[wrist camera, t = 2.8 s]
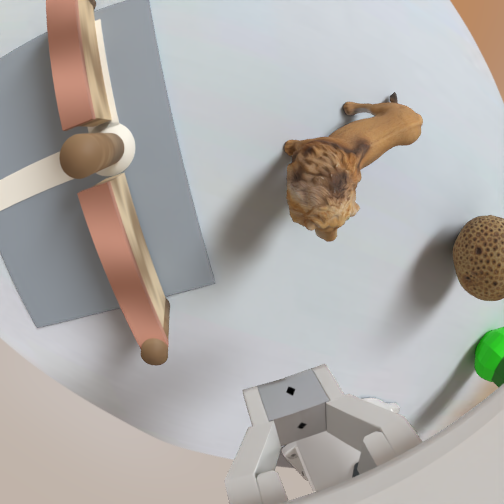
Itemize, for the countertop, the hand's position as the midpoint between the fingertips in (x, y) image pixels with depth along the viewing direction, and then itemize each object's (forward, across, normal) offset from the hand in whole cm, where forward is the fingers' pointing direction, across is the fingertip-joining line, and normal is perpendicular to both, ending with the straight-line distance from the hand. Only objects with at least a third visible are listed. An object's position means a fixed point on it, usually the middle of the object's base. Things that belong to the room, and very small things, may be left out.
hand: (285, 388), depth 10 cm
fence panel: (+15, +7, -1) cm, 17 cm away
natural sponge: (+15, -25, +7) cm, 31 cm away
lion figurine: (+16, -10, -5) cm, 20 cm away
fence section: (+16, +7, -15) cm, 23 cm away
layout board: (+16, +11, -8) cm, 21 cm away
